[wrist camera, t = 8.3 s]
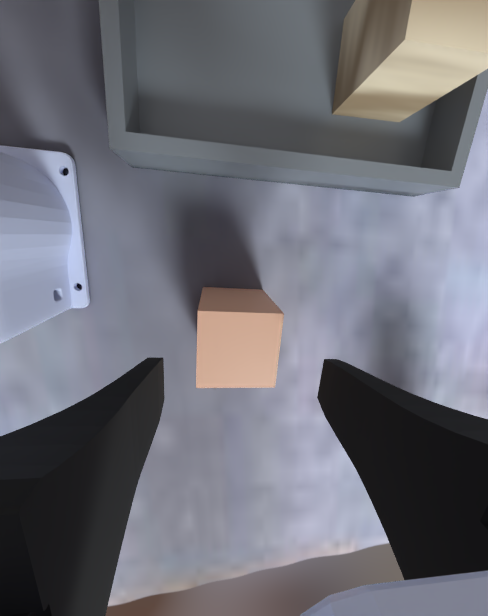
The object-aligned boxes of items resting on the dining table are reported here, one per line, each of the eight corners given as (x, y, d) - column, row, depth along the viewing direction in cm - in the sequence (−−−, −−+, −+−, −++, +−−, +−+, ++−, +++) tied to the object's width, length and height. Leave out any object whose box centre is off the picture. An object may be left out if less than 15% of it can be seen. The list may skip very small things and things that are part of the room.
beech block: (399, 122, 15) (507, 56, 10) (331, 114, 15) (404, 39, 9) (416, 31, 14) (553, -106, 8) (343, 19, 14) (437, -136, 8)
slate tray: (413, 196, 18) (459, 187, 15) (132, 167, 15) (109, 148, 12) (469, -36, 14) (546, -117, 11) (117, -124, 12) (79, -265, 9)
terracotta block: (257, 343, 20) (274, 387, 14) (201, 342, 19) (196, 388, 14) (262, 289, 19) (284, 313, 13) (203, 286, 18) (197, 310, 12)
